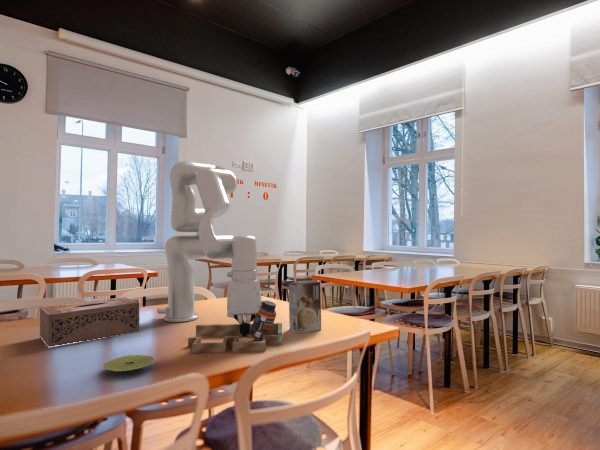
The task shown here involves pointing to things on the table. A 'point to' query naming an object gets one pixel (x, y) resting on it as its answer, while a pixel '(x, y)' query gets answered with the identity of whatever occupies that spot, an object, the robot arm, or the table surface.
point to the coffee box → (304, 306)
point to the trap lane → (232, 339)
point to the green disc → (128, 363)
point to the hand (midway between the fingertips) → (245, 335)
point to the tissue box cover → (88, 320)
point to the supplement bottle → (263, 320)
